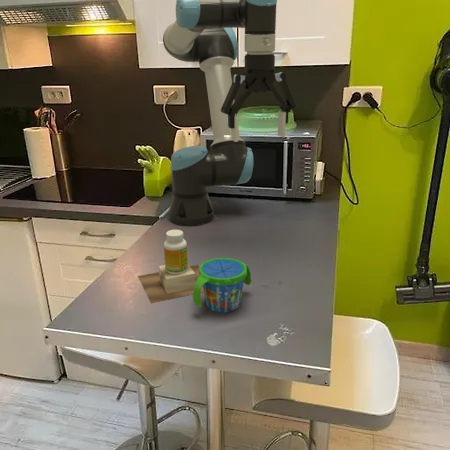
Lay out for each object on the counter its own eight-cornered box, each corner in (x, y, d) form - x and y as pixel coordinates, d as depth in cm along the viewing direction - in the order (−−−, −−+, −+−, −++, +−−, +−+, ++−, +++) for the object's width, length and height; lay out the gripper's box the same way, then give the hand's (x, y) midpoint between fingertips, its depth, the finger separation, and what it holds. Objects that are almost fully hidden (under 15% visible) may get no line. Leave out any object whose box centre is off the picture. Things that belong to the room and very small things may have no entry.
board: (138, 280, 122) (137, 276, 122) (198, 268, 128) (197, 264, 127) (151, 307, 110) (151, 303, 110) (216, 293, 116) (216, 289, 115)
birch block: (159, 280, 120) (158, 266, 118) (186, 275, 122) (186, 261, 120) (167, 294, 114) (166, 278, 112) (195, 288, 116) (195, 273, 114)
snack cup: (237, 288, 118) (237, 250, 114) (264, 306, 110) (265, 266, 106) (182, 308, 110) (180, 268, 106) (207, 330, 102) (206, 287, 98)
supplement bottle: (184, 276, 113) (182, 238, 110) (162, 274, 114) (159, 236, 111) (190, 265, 118) (189, 229, 114) (169, 263, 119) (167, 227, 115)
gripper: (218, 55, 112) (219, 145, 120) (311, 52, 121) (306, 136, 129) (207, 54, 119) (209, 139, 127) (296, 51, 127) (292, 131, 135)
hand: (258, 138), depth 128 cm, fingers open, 13 cm apart
